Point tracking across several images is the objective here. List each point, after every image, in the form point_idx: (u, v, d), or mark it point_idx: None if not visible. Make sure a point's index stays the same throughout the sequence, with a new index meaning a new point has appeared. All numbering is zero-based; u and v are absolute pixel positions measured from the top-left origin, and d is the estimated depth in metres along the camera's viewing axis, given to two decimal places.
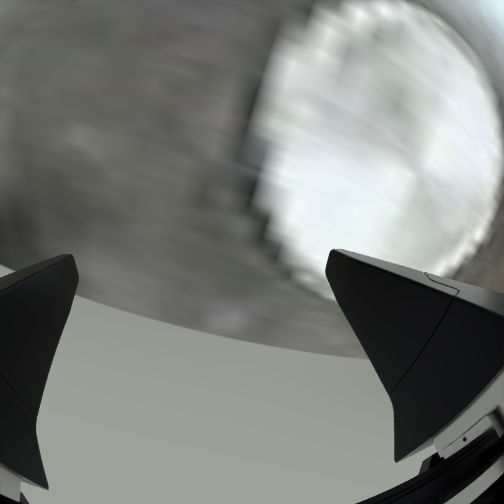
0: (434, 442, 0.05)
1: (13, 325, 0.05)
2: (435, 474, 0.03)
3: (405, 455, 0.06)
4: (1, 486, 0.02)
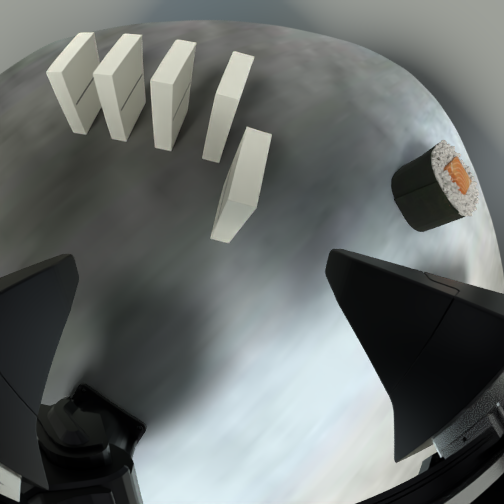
0: (434, 442, 0.05)
1: (13, 325, 0.05)
2: (435, 474, 0.03)
3: (405, 455, 0.06)
4: (1, 486, 0.02)
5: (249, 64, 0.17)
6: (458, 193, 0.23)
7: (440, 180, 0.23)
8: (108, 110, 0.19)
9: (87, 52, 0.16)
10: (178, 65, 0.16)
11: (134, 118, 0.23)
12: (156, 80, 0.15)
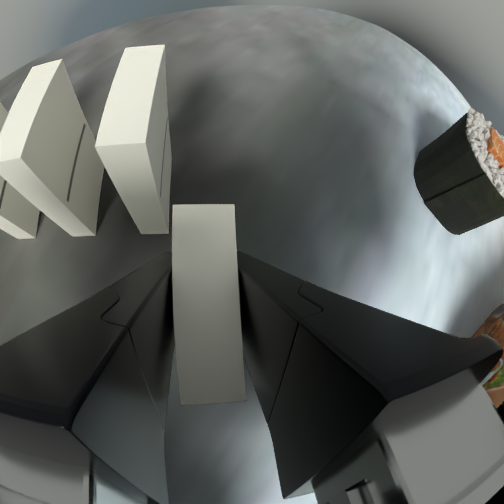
0: (314, 490, 0.05)
1: (156, 332, 0.05)
2: None
3: (288, 494, 0.05)
4: None
5: (156, 60, 0.08)
6: None
7: (488, 170, 0.14)
8: None
9: None
10: (30, 112, 0.07)
11: None
12: None
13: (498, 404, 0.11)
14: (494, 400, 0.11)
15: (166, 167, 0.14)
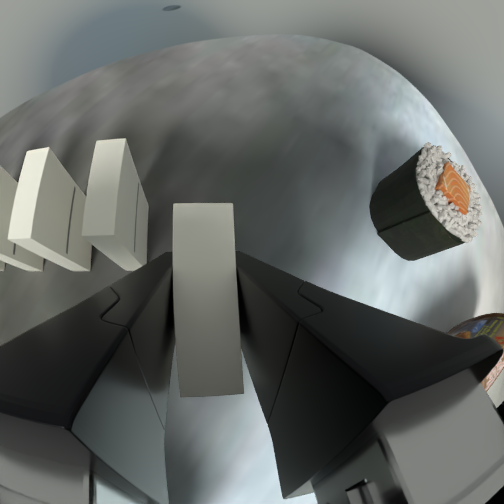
0: (314, 490, 0.05)
1: (157, 332, 0.05)
2: None
3: (288, 495, 0.05)
4: None
5: (119, 157, 0.12)
6: (458, 216, 0.18)
7: (433, 208, 0.18)
8: (2, 258, 0.14)
9: None
10: (32, 199, 0.11)
11: None
12: (13, 236, 0.10)
13: None
14: None
15: (141, 221, 0.18)
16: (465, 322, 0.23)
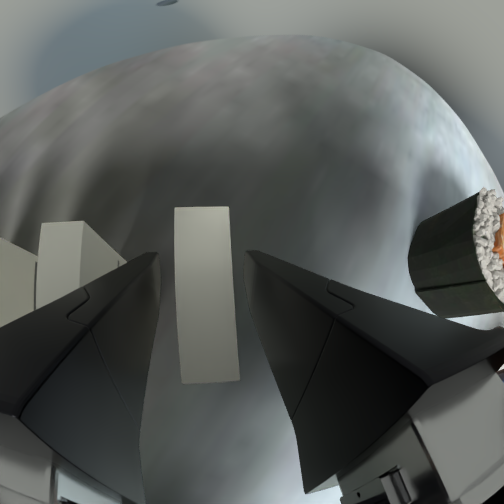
0: (339, 483, 0.05)
1: (127, 332, 0.05)
2: None
3: (311, 489, 0.05)
4: None
5: (76, 257, 0.07)
6: None
7: (489, 277, 0.13)
8: None
9: None
10: None
11: None
12: None
13: None
14: None
15: None
16: None
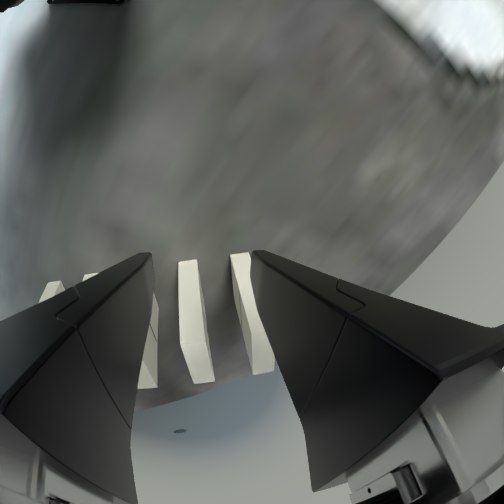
0: (348, 480, 0.05)
1: (117, 332, 0.05)
2: None
3: (319, 487, 0.05)
4: None
5: None
6: None
7: None
8: (192, 296, 0.21)
9: (249, 352, 0.21)
10: None
11: None
12: None
13: None
14: None
15: None
16: None
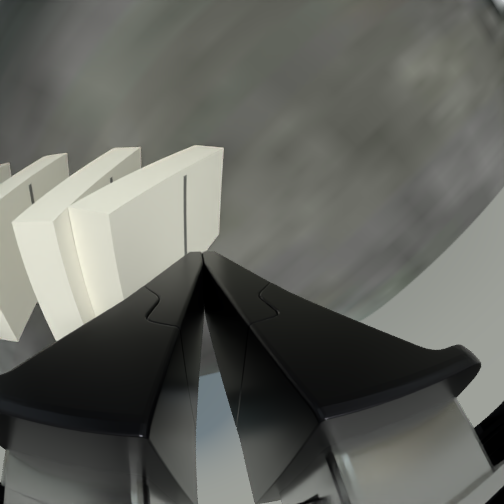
0: (281, 498, 0.04)
1: (193, 332, 0.06)
2: None
3: (257, 500, 0.05)
4: None
5: None
6: None
7: None
8: (96, 172, 0.10)
9: None
10: None
11: None
12: None
13: None
14: None
15: None
16: None
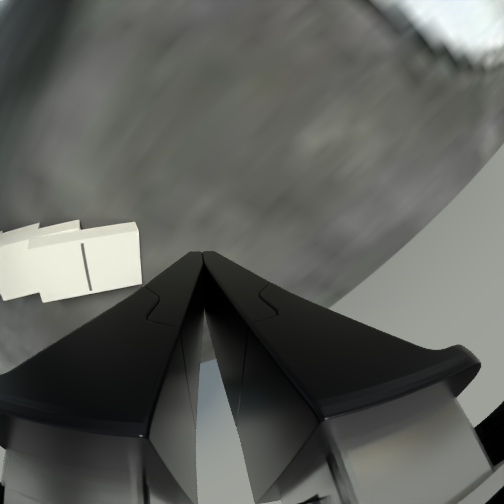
0: (281, 498, 0.04)
1: (193, 332, 0.06)
2: None
3: (257, 500, 0.05)
4: None
5: None
6: None
7: None
8: (28, 236, 0.17)
9: None
10: None
11: None
12: None
13: None
14: None
15: None
16: None
